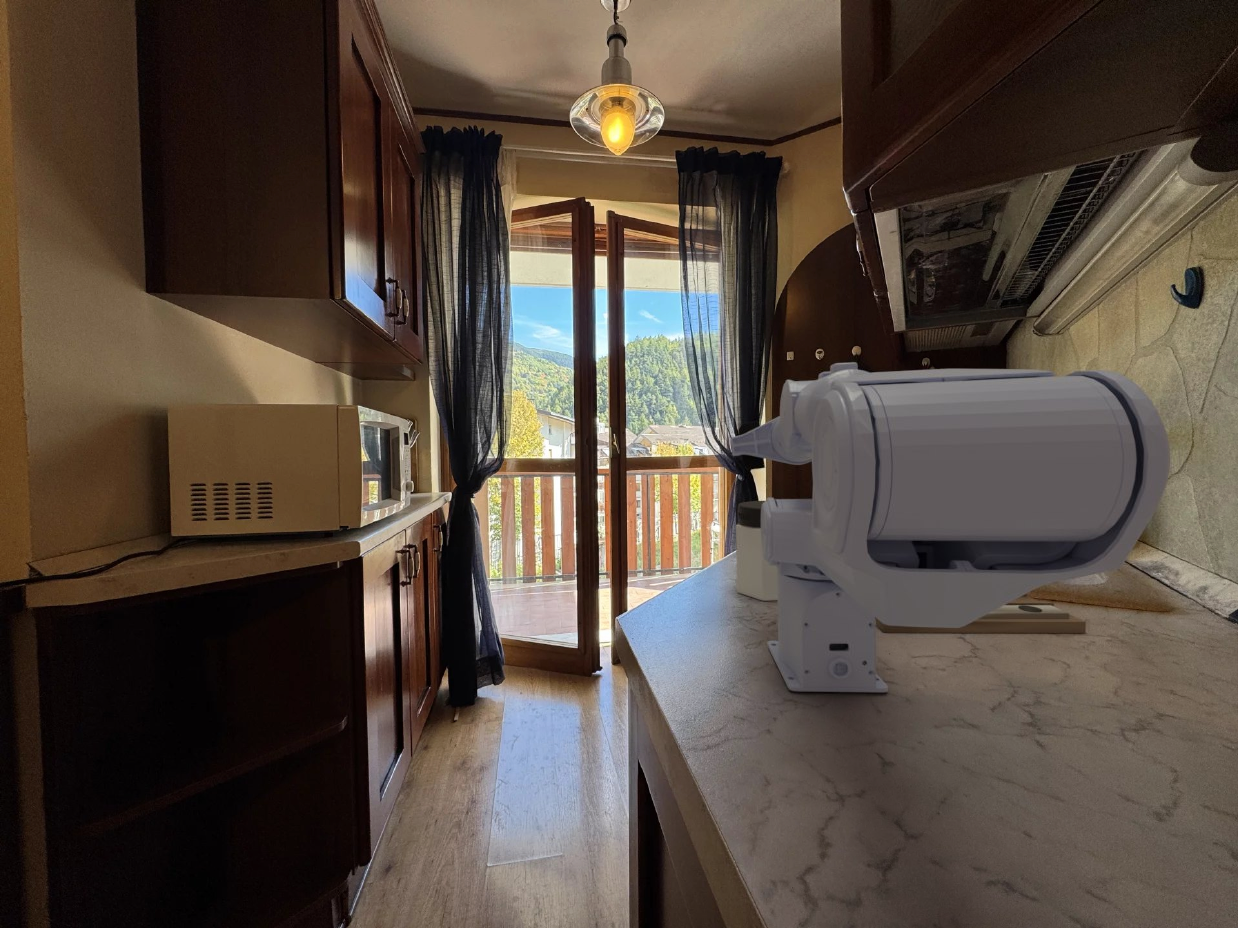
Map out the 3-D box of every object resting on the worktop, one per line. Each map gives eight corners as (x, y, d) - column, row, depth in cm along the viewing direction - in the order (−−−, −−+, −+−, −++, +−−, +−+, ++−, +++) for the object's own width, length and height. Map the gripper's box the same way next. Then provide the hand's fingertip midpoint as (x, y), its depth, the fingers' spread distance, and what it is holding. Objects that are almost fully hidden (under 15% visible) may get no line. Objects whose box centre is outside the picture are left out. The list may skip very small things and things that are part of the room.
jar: (747, 579, 75) (745, 499, 74) (805, 585, 71) (804, 501, 70) (731, 597, 67) (729, 507, 66) (795, 605, 63) (794, 510, 62)
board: (1085, 633, 52) (1085, 615, 52) (883, 632, 54) (883, 615, 54) (1026, 605, 61) (1026, 589, 61) (853, 605, 63) (853, 590, 62)
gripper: (872, 382, 52) (840, 409, 65) (728, 403, 54) (726, 425, 67) (883, 450, 51) (849, 463, 64) (737, 468, 53) (733, 477, 67)
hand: (786, 447), depth 66 cm, fingers open, 7 cm apart
